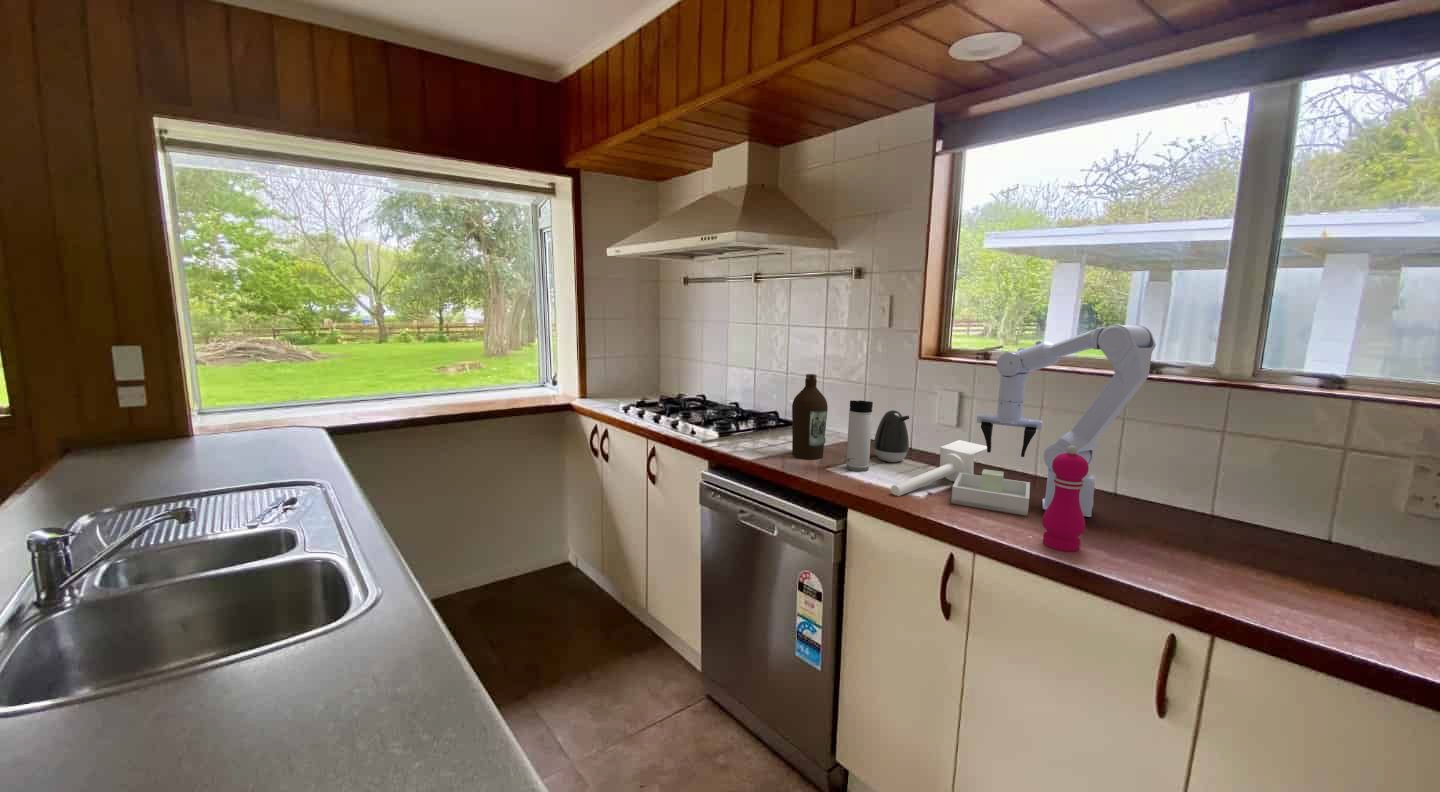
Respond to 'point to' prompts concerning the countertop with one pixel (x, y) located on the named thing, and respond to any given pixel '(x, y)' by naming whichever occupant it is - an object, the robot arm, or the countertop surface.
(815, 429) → the olive oil
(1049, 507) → the pepper mill
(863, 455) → the travel mug
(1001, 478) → the sage block
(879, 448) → the pump dispenser
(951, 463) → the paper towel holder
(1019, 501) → the grey bin
